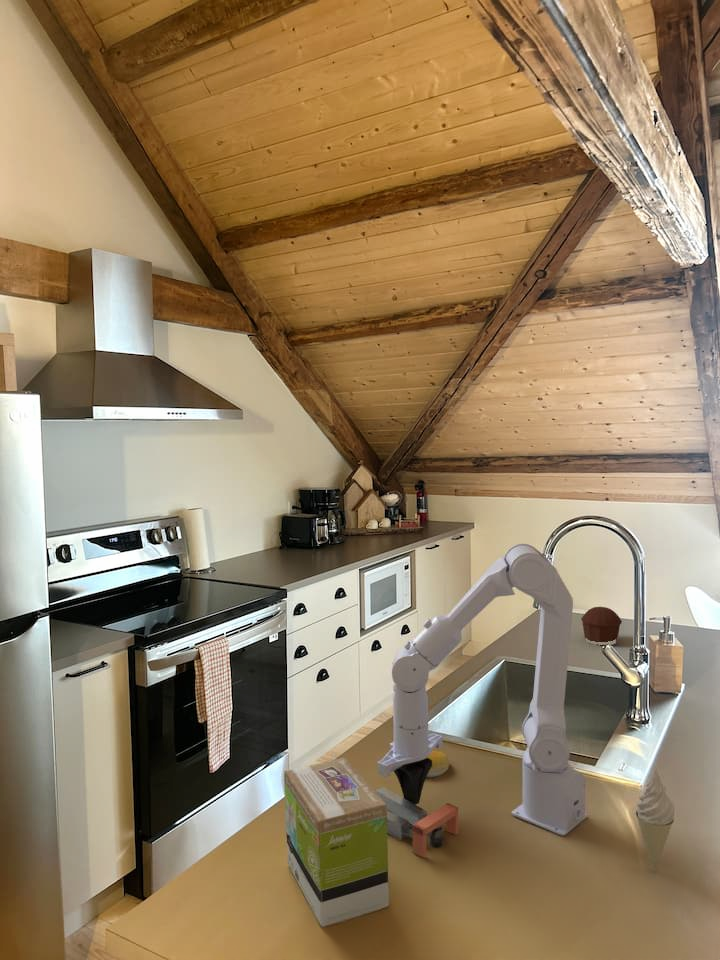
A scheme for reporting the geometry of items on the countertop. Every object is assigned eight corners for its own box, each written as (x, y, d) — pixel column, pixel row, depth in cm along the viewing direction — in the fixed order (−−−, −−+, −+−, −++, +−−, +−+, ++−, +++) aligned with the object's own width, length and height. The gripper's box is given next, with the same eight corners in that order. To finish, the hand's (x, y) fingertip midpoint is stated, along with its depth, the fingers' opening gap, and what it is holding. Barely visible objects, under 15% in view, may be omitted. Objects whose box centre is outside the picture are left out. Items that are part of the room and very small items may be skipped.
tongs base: (445, 843, 110) (445, 828, 110) (429, 854, 108) (429, 839, 108) (369, 806, 122) (368, 792, 121) (352, 815, 119) (352, 801, 119)
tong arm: (441, 833, 113) (441, 819, 113) (433, 837, 112) (433, 823, 112) (383, 799, 124) (383, 786, 123) (375, 802, 122) (375, 790, 122)
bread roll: (414, 782, 130) (414, 760, 130) (398, 760, 139) (398, 740, 138) (457, 775, 132) (456, 754, 132) (438, 754, 141) (438, 734, 141)
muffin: (577, 636, 218) (577, 603, 217) (615, 636, 216) (616, 603, 216) (585, 647, 206) (586, 613, 205) (626, 648, 205) (626, 613, 204)
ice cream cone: (670, 886, 99) (671, 780, 98) (631, 874, 102) (632, 771, 101) (676, 867, 104) (677, 765, 103) (638, 856, 106) (639, 757, 105)
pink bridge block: (458, 833, 113) (458, 807, 113) (423, 857, 107) (423, 830, 106) (448, 828, 114) (447, 802, 114) (413, 852, 108) (412, 825, 108)
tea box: (284, 866, 106) (282, 768, 105) (348, 849, 110) (346, 754, 109) (320, 931, 92) (317, 818, 91) (391, 909, 96) (389, 801, 95)
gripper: (419, 703, 127) (420, 778, 128) (362, 729, 117) (364, 810, 118) (452, 714, 122) (453, 792, 123) (395, 742, 112) (397, 826, 113)
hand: (411, 802), depth 120 cm, fingers closed
